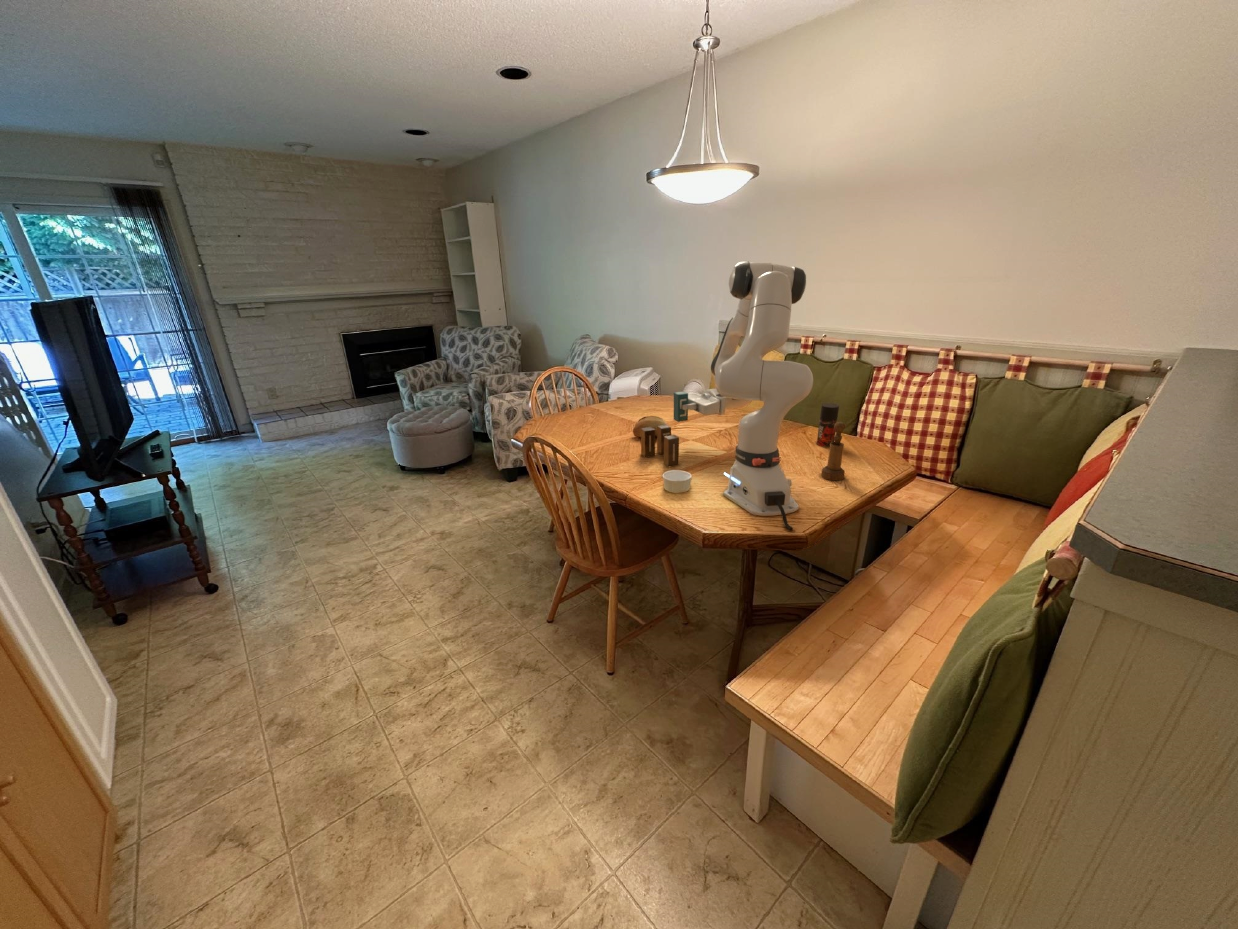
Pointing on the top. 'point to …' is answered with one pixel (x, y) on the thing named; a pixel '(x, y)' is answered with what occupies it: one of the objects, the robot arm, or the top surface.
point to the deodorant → (827, 424)
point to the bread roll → (648, 424)
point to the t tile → (662, 437)
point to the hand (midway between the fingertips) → (678, 405)
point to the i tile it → (647, 442)
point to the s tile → (678, 401)
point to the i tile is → (671, 450)
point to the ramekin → (677, 481)
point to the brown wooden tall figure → (835, 456)
